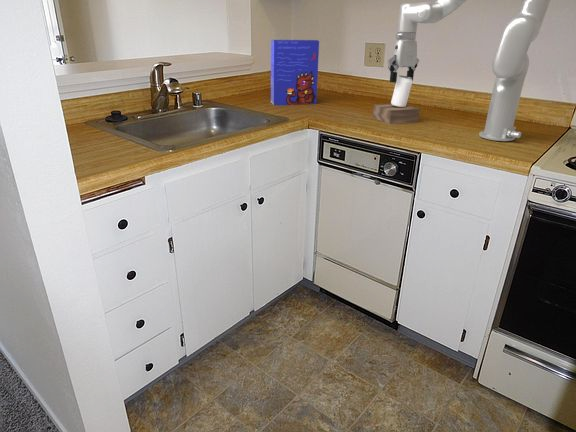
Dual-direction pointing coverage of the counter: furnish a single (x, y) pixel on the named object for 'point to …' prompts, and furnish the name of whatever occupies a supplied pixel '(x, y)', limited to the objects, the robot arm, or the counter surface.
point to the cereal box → (294, 71)
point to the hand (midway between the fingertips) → (401, 81)
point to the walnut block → (395, 113)
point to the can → (401, 91)
